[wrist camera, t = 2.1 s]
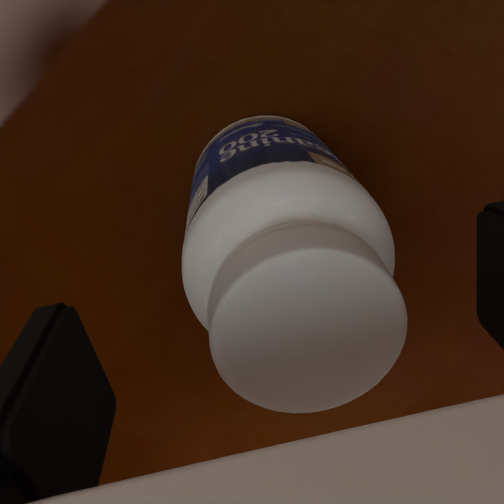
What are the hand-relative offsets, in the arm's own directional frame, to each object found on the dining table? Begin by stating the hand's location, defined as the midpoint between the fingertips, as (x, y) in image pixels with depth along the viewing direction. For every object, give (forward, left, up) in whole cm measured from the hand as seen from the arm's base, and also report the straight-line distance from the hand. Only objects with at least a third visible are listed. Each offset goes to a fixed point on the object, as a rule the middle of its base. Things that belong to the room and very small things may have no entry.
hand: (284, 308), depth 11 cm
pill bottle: (0, 0, -8) cm, 8 cm away
